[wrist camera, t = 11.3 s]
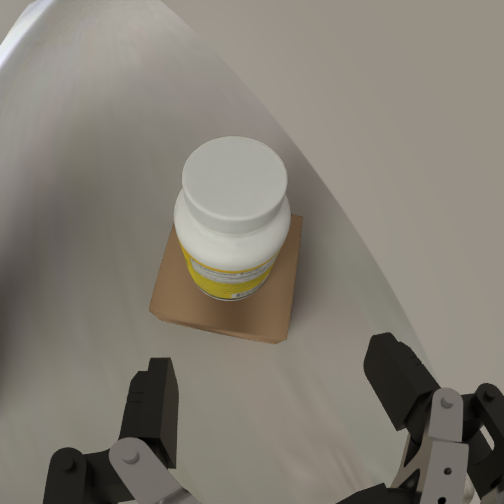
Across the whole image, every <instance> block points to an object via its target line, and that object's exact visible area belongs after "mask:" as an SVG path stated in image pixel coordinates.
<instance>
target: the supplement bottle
mask: <svg viewBox="0 0 504 504" xmlns="http://www.w3.org/2000/svg"><path fill="white" fill-rule="evenodd" d="M182 185H183V188H182V189H181V191H180V193H179V195H178V197H177V200H176V204H175V208H174V223H175V229H176V233H177V237H178V239H179V242H180V245H181V249H182V252H183V255H184V258H185V261H186V264H187V267H188V270H189V273H190V275H191V277H192V279H193V281H194V283H195V284H196V285H197V287H198V288H199V289H200V290H202V291H203V292H204V293H205V294H207V295H209V296H211V297H213V298H215V299H219V300H224V301H236V300H240V299H244V298H246V297H248V296H250V295H252V294H253V293H255V292H256V291H257V290H258V289H259V288H260V287H261V286H262V285H263V283H264V282H265V280H266V279H267V277H268V275H269V273H270V271H271V268H272V266H273V264H274V262H275V260H276V258H277V256H278V254H279V252H280V250H281V248H282V246H283V244H284V241H285V239H286V236H287V234H288V231H289V227H290V221H291V211H290V205H289V201H288V199H287V196H286V190H287V185H288V176H287V171H286V168H285V165H284V163H283V161H282V160H281V158H280V157H279V156H278V154H277V153H276V152H275V151H274V150H272V149H271V148H270V147H269V146H267V145H265V144H264V143H262V142H260V141H257V140H255V139H252V138H248V137H242V136H225V137H220V138H216V139H213V140H210V141H208V142H206V143H204V144H202V145H201V146H199V147H198V148H197V149H196V150H195V151H194V152H193V153H192V154H191V155H190V156H189V158H188V159H187V161H186V163H185V165H184V168H183V172H182Z"/></svg>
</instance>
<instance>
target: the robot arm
mask: <svg viewBox="0 0 504 504" xmlns="http://www.w3.org/2000/svg"><path fill="white" fill-rule="evenodd" d="M363 366H364V372H365V375H366V377H367V379H368V380H369V382H370V384H371V386H372V387H373V389H374V391H375V393H376V395H377V396H378V398H379V400H380V402H381V403H382V405H383V407H384V409H385V411H386V413H387V414H388V416H389V418H390V420H391V422H392V423H393V425H394V427H395V429H396V431H399V430H402V429H404V428H407V430H408V432H409V434H408V436H407V440H406V444H405V448H404V452H403V456H402V460H401V464H400V468H399V471H398V473H397V475H396V477H395V479H394V480H393V482H392V484H391V486H390V488H386V486H385V484H384V483H381V484H379V485H376V486H373V487H370V488H367V489H365V490H362V491H358V492H356V493H354V494H353V495H351V496H349V497H347V498H346V499H344V500H342V501H340V502H338V503H336V504H462V499H463V493H464V487H465V480H466V472H467V473H468V475H469V477H470V479H471V481H472V483H473V485H474V487H475V489H476V492H477V494H478V496H479V498H480V500H481V502H480V504H504V396H503V395H502V393H501V392H500V391H499V389H498V388H497V387H496V386H494V385H492V384H489V383H484V384H481V385H480V386H479V387H478V388H477V390H476V391H475V393H474V394H466V395H460V394H459V393H458V392H456V391H455V390H453V389H450V388H441V387H440V386H439V385H438V383H437V382H436V381H435V379H434V378H433V377H432V375H431V374H430V373H429V371H428V370H427V369H426V367H425V366H424V365H423V364H422V362H421V361H420V360H419V358H417V356H416V354H415V353H414V352H413V351H412V349H411V348H410V347H408V346H407V345H405V344H404V343H402V342H401V341H400V342H398V341H397V340H396V339H395V337H394V336H393V335H392V334H391V333H390V332H387V333H382V334H377V335H373V336H372V337H371V339H370V343H369V346H368V350H367V353H366V356H365V359H364V365H363ZM178 403H179V391H178V384H177V380H176V376H175V372H174V369H173V365H172V361H171V358H151V359H150V361H149V367H148V371H138V372H137V374H136V375H135V376H134V377H133V379H132V380H131V383H130V387H129V394H128V396H127V403H126V406H125V410H124V415H123V420H122V426H121V431H120V436H119V438H118V441H117V442H115V443H114V444H113V445H112V447H111V448H110V449H108V450H105V451H102V452H97V453H91V454H82V453H81V452H80V451H78V450H77V449H74V448H69V447H67V448H62V449H59V450H58V451H56V452H55V453H54V454H53V456H52V458H51V460H50V465H49V470H48V475H47V481H46V486H45V493H44V499H43V504H118V502H124V501H130V500H136V501H137V502H138V503H139V504H201V503H200V502H199V501H198V500H197V499H196V498H195V497H194V496H193V495H192V494H191V493H190V492H189V491H187V490H186V489H184V488H183V487H182V486H181V485H180V483H179V482H178V481H177V480H176V479H175V478H174V477H173V476H172V474H171V473H170V472H169V471H168V468H171V469H176V450H177V422H178ZM483 425H484V426H485V427H486V429H487V430H488V432H489V434H490V436H491V437H492V439H493V441H494V449H493V451H492V449H491V448H490V446H489V444H488V443H487V441H486V439H485V437H484V436H483V434H482V433H481V431H480V428H481V427H482V426H483Z"/></svg>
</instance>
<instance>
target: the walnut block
mask: <svg viewBox="0 0 504 504" xmlns="http://www.w3.org/2000/svg"><path fill="white" fill-rule="evenodd" d="M302 220H303V217H302V216H298V215H293V214H291V221H290V227H289V231H288V234H287V236H286V239H285V241H284V244H283V246H282V248H281V250H280V252H279V254H278V256H277V258H276V260H275V262H274V264H273V266H272V268H271V271H270V273H269V275H268V277H267V279H266V280H265V282H264V283H263V285H262V286H261V287H260V288H259V289H258V290H257V291H256V292H255V293H253V294H252V295H250V296H248V297H246V298H244V299H240V300H236V301H224V300H219V299H215V298H213V297H211V296H209V295H207V294H205V293H204V292H203V291H202V290H200V289H199V288H198V287H197V285H196V284H195V283H194V281H193V279H192V277H191V275H190V273H189V270H188V267H187V264H186V261H185V258H184V255H183V252H182V249H181V245H180V242H179V239H178V237H177V233H176V229H175V223H174V224H173V227H172V230H171V233H170V237H169V240H168V243H167V246H166V249H165V253H164V256H163V259H162V263H161V266H160V270H159V273H158V277H157V280H156V284H155V288H154V291H153V295H152V299H151V303H150V306H149V311H150V312H151V313H152V314H154V315H155V316H156V317H157V318H158V319H160V320H162V321H166V322H170V323H174V324H178V325H183V326H187V327H191V328H195V329H200V330H204V331H209V332H214V333H218V334H223V335H228V336H233V337H238V338H244V339H249V340H254V341H260V342H266V343H271V344H277V343H279V342H281V341H284V340H286V339H287V334H288V327H289V321H290V314H291V307H292V300H293V293H294V285H295V278H296V270H297V262H298V254H299V246H300V237H301V229H302Z"/></svg>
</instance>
